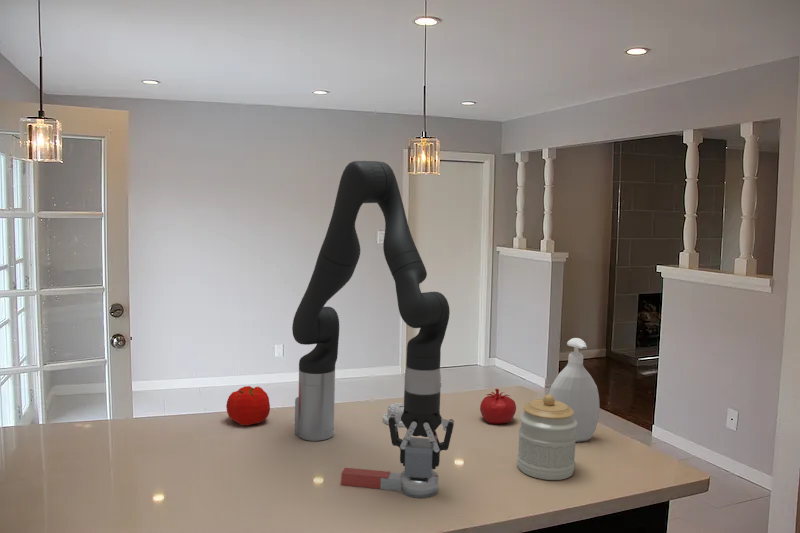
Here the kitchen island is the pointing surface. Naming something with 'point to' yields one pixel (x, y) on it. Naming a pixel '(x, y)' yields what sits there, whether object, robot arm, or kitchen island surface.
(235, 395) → the tomato
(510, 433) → the kitchen island surface
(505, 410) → the pomegranate
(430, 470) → the brushed metal cube
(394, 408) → the mechanical component
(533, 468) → the jar
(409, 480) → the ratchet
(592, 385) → the soap bottle
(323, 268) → the robot arm
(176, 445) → the kitchen island surface
